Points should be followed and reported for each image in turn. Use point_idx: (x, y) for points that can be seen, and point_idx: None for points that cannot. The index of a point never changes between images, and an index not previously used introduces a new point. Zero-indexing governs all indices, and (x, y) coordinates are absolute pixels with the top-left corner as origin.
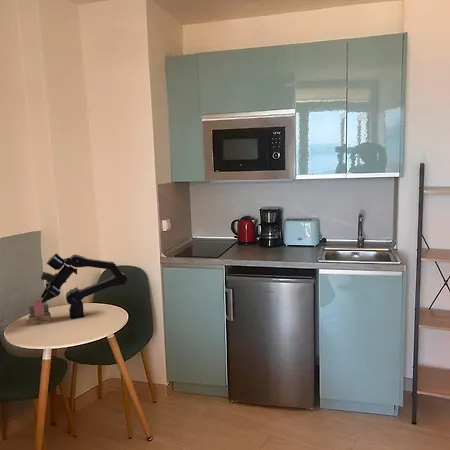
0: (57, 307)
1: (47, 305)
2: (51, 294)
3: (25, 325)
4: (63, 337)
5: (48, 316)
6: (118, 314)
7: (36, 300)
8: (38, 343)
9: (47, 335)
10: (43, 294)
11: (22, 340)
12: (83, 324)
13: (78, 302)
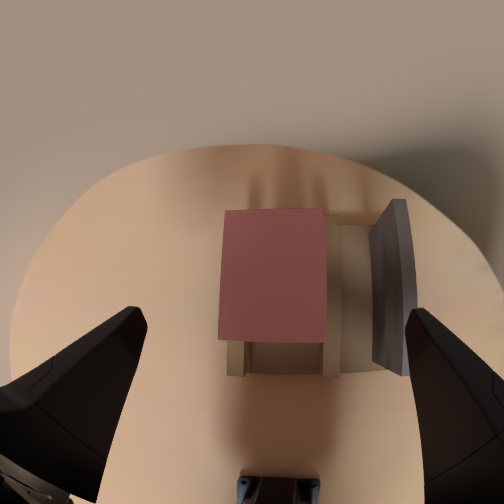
0: None
1: (398, 367)
2: (51, 450)
3: None
4: (37, 363)
5: (228, 359)
6: None
7: (323, 247)
8: (32, 272)
9: (70, 314)
10: (427, 356)
11: (77, 215)
12: (133, 484)
13: None
